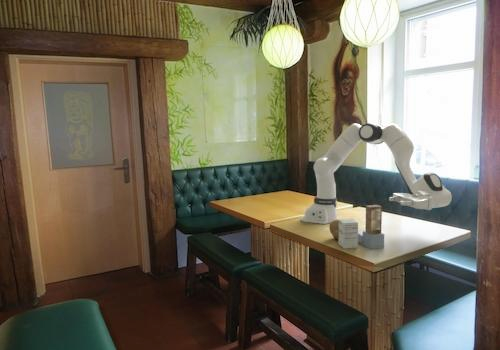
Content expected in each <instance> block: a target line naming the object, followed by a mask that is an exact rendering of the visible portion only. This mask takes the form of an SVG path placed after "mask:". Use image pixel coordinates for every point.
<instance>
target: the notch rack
mask: <svg viewBox="0 0 500 350" xmlns="http://www.w3.org/2000/svg"><path fill="white" fill-rule="evenodd" d="M365 231H366V229H364V230H358V243H360V244H362V245H363V246H365V247H366V248H369V249H370V250H373V249H380V248H382V249H383V248H384V247H385V233H383V232H381V233H378V234H368V233H366V232H365Z"/></svg>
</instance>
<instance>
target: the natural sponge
mask: <svg viewBox="0 0 500 350" xmlns="http://www.w3.org/2000/svg"><path fill="white" fill-rule="evenodd" d="M328 228H329V232H330V234H331V235H332V237H333V238H334V239H335V240H339V219H338V220H334V221H332V222H331V223H329V224H328Z"/></svg>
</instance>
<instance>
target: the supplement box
mask: <svg viewBox="0 0 500 350" xmlns="http://www.w3.org/2000/svg"><path fill="white" fill-rule="evenodd" d="M338 220H339V239H338V244H339V246H341V247H342V249H355V248H356V249H357V248H358V247H359V242H358V231H359V222H358V221H357V220H356V219H354V218H338Z"/></svg>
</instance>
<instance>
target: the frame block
mask: <svg viewBox="0 0 500 350" xmlns="http://www.w3.org/2000/svg"><path fill="white" fill-rule="evenodd" d="M382 214H383V206H381V205H379V204H373V205H371V204H370V205H365V230H366V231H365V232H366V233H368V234H378V233H382V217H383V216H382Z"/></svg>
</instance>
